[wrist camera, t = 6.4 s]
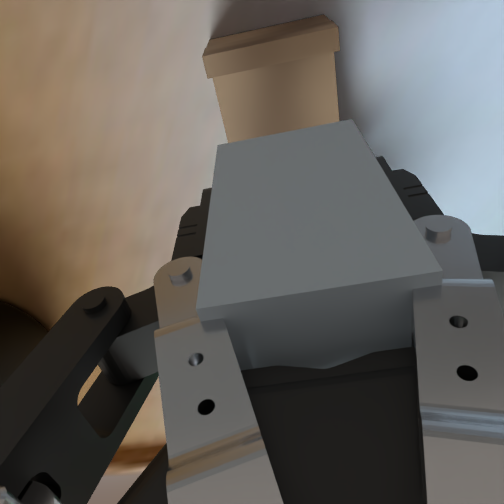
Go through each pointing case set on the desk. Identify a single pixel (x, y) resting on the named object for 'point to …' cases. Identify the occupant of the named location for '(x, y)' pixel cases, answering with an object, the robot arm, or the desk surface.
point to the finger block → (310, 250)
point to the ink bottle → (16, 338)
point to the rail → (275, 77)
